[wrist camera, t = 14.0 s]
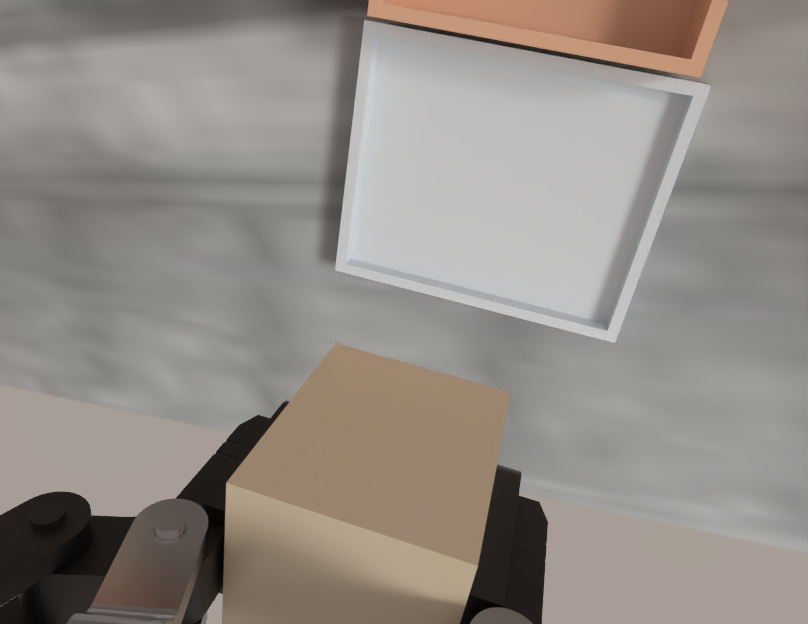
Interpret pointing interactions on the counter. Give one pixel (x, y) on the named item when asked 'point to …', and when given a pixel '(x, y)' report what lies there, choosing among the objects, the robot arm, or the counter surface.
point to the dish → (580, 26)
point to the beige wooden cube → (364, 498)
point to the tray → (509, 175)
